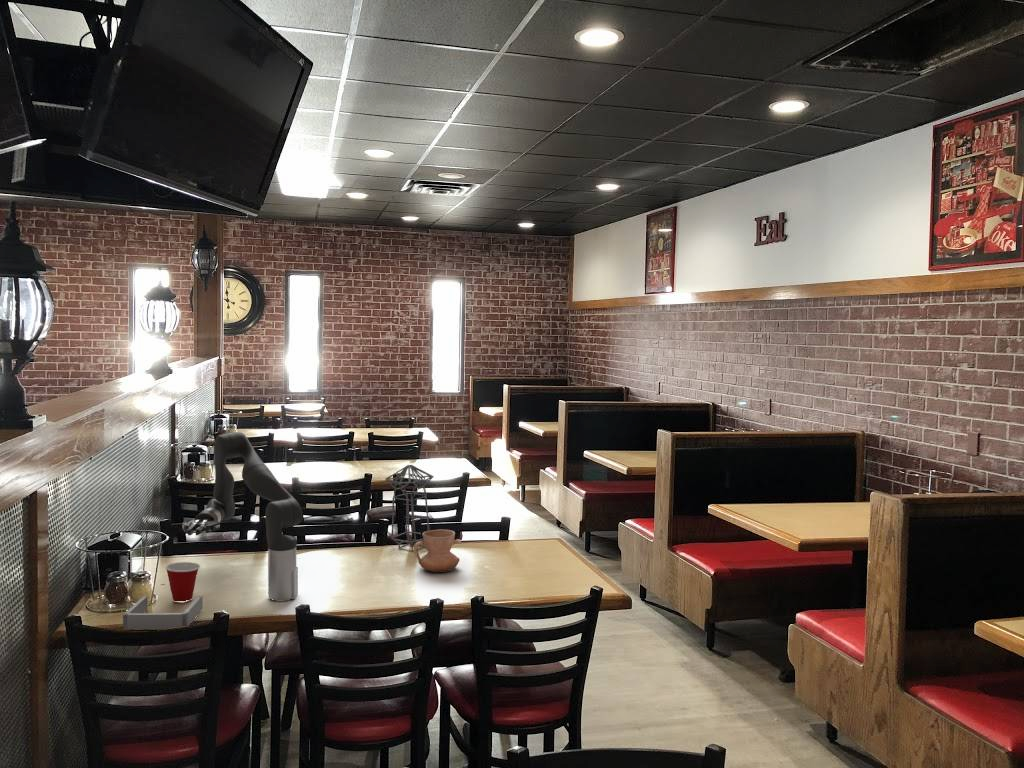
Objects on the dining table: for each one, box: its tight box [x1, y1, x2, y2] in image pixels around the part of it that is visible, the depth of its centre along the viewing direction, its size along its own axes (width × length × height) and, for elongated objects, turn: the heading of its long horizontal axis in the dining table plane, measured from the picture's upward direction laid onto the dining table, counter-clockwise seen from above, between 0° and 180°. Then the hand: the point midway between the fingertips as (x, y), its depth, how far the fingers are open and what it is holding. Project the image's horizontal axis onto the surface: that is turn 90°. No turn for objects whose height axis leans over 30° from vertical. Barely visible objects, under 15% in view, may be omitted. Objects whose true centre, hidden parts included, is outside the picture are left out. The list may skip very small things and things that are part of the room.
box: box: [122, 595, 204, 630], centre depth 247 cm, size 18×16×5 cm
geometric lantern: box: [384, 464, 435, 552], centre depth 329 cm, size 16×16×35 cm
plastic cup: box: [164, 561, 201, 602], centre depth 265 cm, size 11×11×12 cm
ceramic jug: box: [413, 529, 462, 573], centre depth 302 cm, size 18×14×14 cm
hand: (193, 532), depth 274 cm, fingers closed
